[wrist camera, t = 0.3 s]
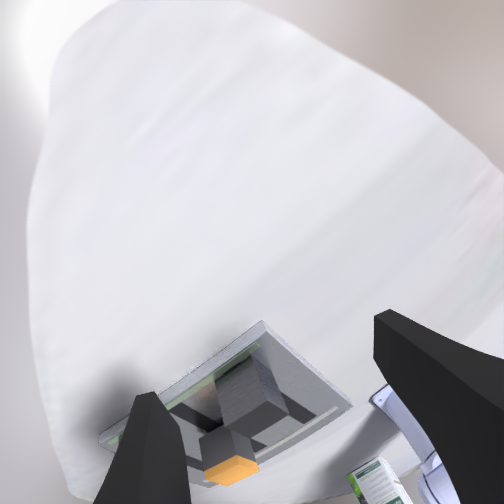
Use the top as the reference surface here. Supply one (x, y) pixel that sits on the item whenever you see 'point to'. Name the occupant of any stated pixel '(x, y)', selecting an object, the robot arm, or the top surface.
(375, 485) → the syrup box
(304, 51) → the top surface
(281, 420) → the panel
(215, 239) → the top surface
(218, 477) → the toggle
